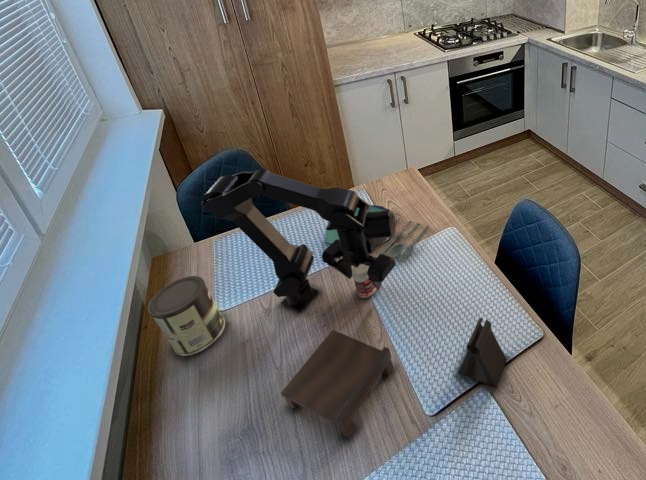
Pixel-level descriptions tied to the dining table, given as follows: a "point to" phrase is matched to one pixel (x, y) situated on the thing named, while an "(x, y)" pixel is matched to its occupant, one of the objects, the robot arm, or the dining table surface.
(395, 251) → the cutlery set
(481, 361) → the phone stand
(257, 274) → the dining table surface
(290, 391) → the shelf
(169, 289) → the coffee can
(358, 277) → the pill bottle
